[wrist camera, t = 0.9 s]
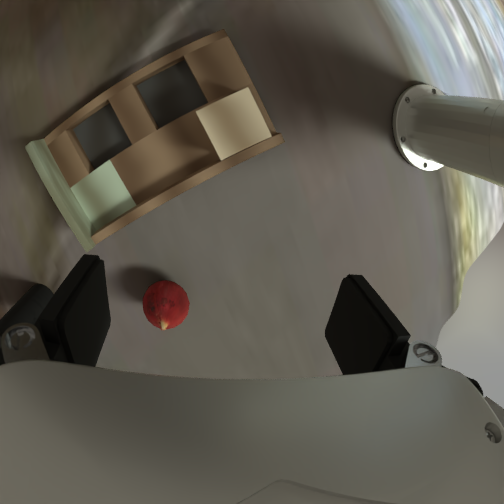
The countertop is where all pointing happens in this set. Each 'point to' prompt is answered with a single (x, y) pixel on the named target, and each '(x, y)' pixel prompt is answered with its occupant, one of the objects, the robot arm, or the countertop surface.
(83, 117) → the track
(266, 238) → the countertop surface
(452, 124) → the robot arm
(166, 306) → the onion
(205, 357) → the countertop surface
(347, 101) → the countertop surface
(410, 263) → the countertop surface
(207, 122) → the block
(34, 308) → the drinking cup
